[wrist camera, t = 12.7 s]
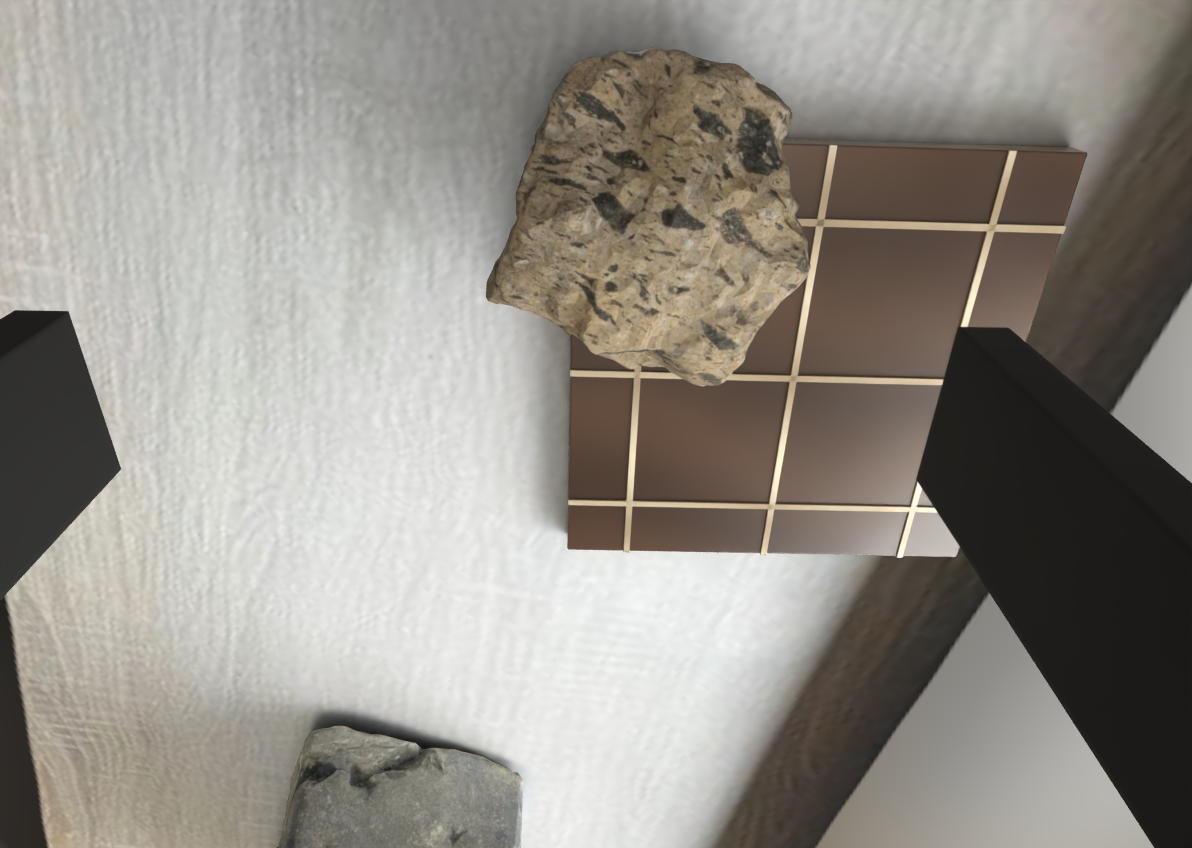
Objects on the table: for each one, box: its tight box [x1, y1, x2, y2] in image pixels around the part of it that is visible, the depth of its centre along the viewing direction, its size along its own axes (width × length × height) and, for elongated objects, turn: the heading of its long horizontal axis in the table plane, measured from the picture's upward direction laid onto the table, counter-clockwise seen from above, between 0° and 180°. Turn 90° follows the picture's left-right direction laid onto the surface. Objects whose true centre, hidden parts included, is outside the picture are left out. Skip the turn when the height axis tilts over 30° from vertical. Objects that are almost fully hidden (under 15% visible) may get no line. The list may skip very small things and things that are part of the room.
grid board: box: [567, 138, 1087, 558], centre depth 36 cm, size 20×20×1 cm
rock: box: [486, 47, 811, 386], centre depth 29 cm, size 11×12×4 cm
